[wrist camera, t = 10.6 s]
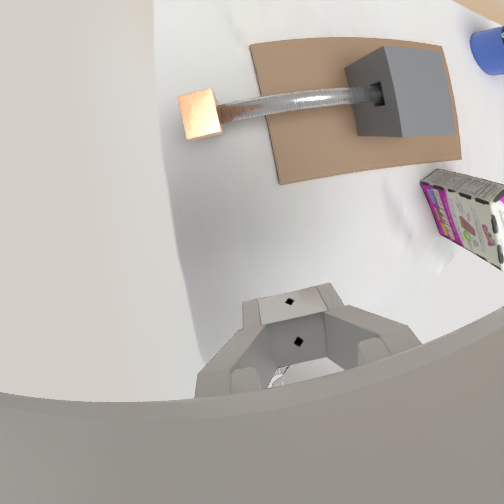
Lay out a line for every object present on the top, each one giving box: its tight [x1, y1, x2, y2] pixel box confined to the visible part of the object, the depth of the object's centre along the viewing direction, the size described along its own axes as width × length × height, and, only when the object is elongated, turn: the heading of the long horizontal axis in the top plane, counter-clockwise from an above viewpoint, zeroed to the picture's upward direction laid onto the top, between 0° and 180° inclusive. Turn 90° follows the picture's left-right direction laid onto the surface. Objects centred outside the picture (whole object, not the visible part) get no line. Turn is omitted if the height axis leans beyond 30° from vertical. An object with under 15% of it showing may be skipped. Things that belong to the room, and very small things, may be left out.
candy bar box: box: [420, 169, 504, 271], centre depth 33 cm, size 11×5×16 cm, turn 36°
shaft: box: [178, 86, 385, 140], centre depth 26 cm, size 4×24×8 cm, turn 102°
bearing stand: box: [250, 37, 462, 185], centre depth 29 cm, size 20×32×13 cm, turn 102°
